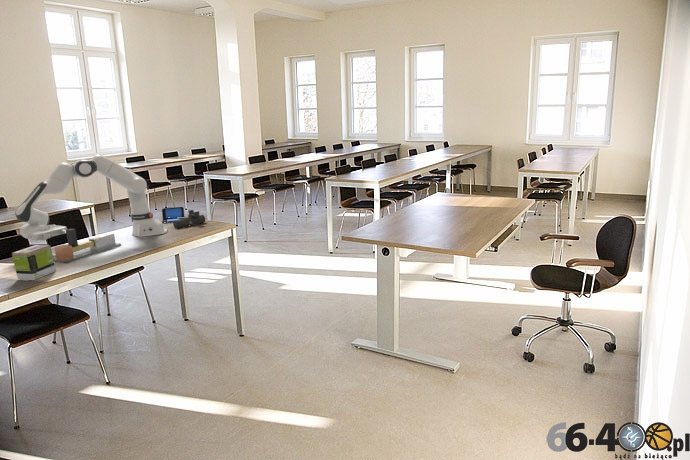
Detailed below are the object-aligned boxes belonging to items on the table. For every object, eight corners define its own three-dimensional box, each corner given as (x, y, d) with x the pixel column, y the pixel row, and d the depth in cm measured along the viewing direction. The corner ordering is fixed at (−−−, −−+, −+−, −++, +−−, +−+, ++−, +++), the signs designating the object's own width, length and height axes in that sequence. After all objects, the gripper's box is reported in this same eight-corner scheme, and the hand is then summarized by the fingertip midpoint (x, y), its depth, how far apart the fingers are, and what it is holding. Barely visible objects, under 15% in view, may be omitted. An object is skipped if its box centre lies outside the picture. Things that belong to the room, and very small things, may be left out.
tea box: (41, 270, 278) (36, 244, 275) (56, 271, 275) (51, 244, 272) (16, 280, 264) (10, 252, 261) (32, 281, 261) (26, 252, 258)
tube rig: (107, 244, 328) (105, 231, 326) (121, 245, 323) (119, 232, 321) (52, 261, 295) (49, 247, 293) (66, 263, 290) (64, 248, 288)
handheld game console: (162, 224, 380) (160, 211, 378) (163, 220, 393) (161, 208, 391) (184, 221, 384) (182, 209, 382) (185, 218, 396) (183, 206, 394)
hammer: (96, 243, 317) (93, 222, 314) (101, 243, 315) (98, 222, 312) (59, 254, 295) (55, 232, 292) (64, 255, 293) (60, 232, 290)
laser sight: (172, 227, 366) (170, 213, 364) (201, 221, 381) (200, 208, 378) (178, 229, 359) (176, 215, 357) (208, 223, 374) (206, 209, 371)
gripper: (24, 231, 299) (40, 233, 293) (56, 223, 317) (72, 224, 311) (26, 242, 300) (42, 243, 295) (58, 233, 318) (74, 235, 313)
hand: (58, 234), depth 303 cm, fingers open, 8 cm apart
